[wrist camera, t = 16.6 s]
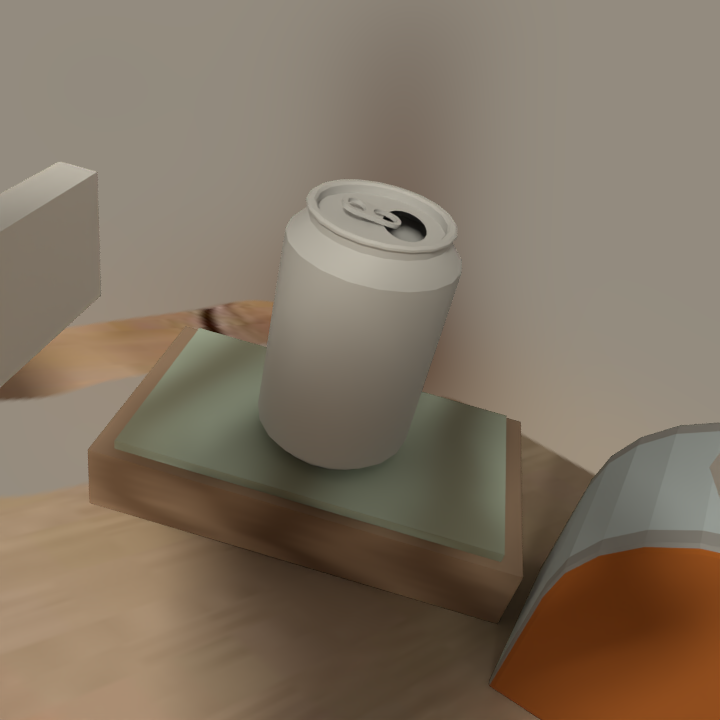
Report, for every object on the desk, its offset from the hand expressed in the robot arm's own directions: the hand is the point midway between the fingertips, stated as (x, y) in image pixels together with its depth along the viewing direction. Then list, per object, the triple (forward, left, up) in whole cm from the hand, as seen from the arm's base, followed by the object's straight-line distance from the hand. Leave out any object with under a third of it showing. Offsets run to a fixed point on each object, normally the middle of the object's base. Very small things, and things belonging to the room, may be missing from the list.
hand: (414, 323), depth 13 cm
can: (+2, -15, -16) cm, 22 cm away
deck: (+2, -15, -20) cm, 25 cm away
